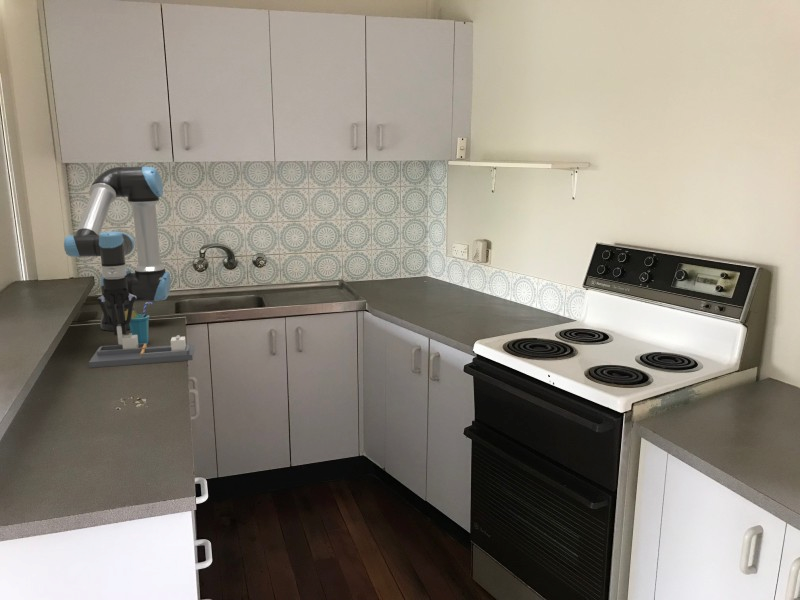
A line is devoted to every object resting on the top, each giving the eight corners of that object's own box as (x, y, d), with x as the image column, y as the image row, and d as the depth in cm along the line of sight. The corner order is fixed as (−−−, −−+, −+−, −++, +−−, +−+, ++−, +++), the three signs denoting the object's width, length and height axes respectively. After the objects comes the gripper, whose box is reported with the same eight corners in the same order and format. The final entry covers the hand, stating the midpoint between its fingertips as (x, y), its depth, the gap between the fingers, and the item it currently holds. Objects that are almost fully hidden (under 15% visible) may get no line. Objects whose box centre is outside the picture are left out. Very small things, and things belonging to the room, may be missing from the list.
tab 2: (172, 351, 235) (171, 335, 234) (186, 350, 236) (185, 334, 235) (171, 354, 231) (170, 338, 230) (185, 353, 232) (184, 337, 231)
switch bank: (97, 355, 238) (96, 346, 237) (194, 348, 245) (193, 339, 244) (89, 367, 224) (88, 357, 224) (192, 360, 232) (191, 350, 231)
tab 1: (125, 349, 238) (123, 333, 237) (138, 348, 239) (137, 332, 238) (123, 352, 234) (121, 336, 233) (137, 351, 235) (135, 336, 234)
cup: (147, 337, 261) (144, 299, 258) (163, 339, 258) (160, 301, 255) (120, 347, 248) (116, 307, 245) (136, 349, 245) (133, 309, 242)
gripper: (92, 280, 225) (99, 347, 230) (133, 278, 228) (139, 345, 233) (96, 276, 232) (103, 341, 237) (136, 274, 235) (142, 339, 240)
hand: (121, 343), depth 235 cm, fingers closed
